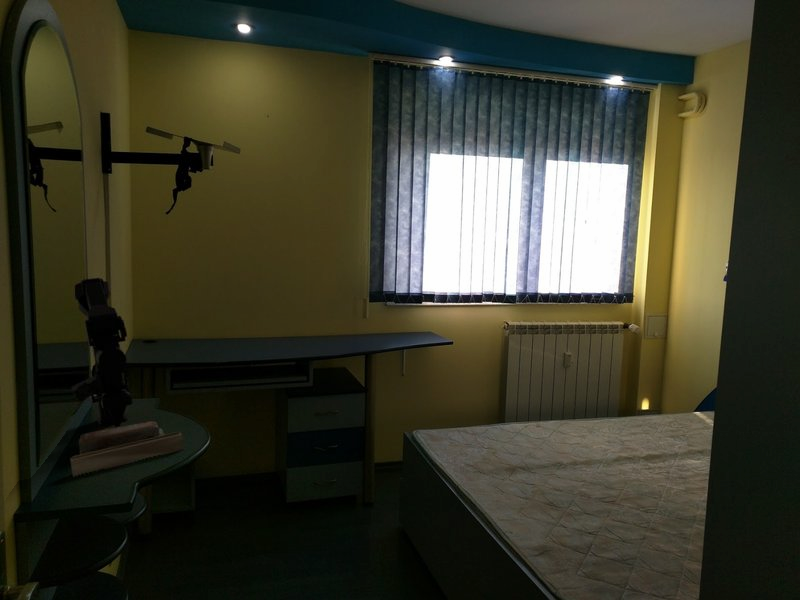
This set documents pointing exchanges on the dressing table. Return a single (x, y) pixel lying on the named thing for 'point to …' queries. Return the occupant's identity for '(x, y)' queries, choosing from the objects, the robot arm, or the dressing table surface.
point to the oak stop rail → (126, 453)
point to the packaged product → (118, 436)
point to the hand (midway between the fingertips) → (117, 426)
